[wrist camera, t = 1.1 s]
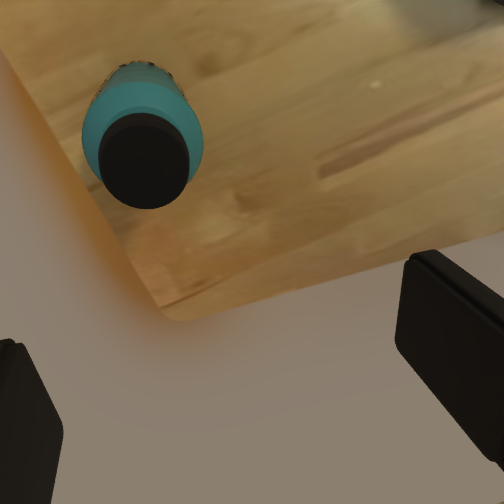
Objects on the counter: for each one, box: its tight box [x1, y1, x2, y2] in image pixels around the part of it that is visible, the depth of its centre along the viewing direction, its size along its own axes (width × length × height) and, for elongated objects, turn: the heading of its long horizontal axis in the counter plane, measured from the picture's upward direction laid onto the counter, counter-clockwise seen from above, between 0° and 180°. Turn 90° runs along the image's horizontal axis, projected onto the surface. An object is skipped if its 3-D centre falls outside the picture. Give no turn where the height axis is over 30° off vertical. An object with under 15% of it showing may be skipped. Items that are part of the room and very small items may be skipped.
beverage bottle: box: [82, 60, 203, 209], centre depth 26 cm, size 6×7×20 cm
